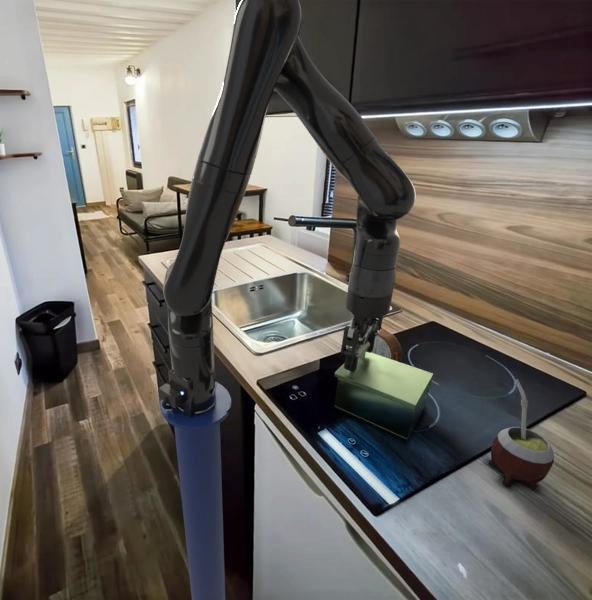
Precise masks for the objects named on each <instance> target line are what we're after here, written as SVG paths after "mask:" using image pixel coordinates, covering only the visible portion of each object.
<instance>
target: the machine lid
mask: <svg viewBox="0 0 592 600" xmlns="http://www.w3.org/2000/svg"><path fill="white" fill-rule="evenodd" d="M369 347H370V343H369V342H368V341H367V343H366V345H365V346H363V347H362V348H361V351H360V354H359V358H358V364H357V370H356V371H355V372H351V371H349V370H346V369H345V368H344V363H343V364H342V365H341V366H340V367H338V369H337V370H336V371H335V372H334V375H333V376H334V377H335V378H337V379H338V378H340V379H343V380H345V381H347V382H350V383H352V384H355V385H357V386H360V387H362V388H365V389H367V390H370V391H372V392H375V393H377V394H380V395H382V396H385V397H387V398H389V399H392V400H394V401H397V402H399V403H402V404H404V405H407V406H409V407H412V408H414V409H415V408H416V406H417V404H418V402H419V401H420V399H421V397H422V395H423V394H424V392H425V390H426V388H427V386H428V385H429V383H430V381H431V379H432V380H433V377H434V374H435V373H433V372H430V371H427V370H424V369H422V368H418V367H415V366H412V365H409V364H407V363H403V362H401V361H400V362H397V361H394V360H392V359H389V358H386V357H383V356H380V355H377V354H374V353H368V352H366V350H367V349H368V348H369Z"/></svg>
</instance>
